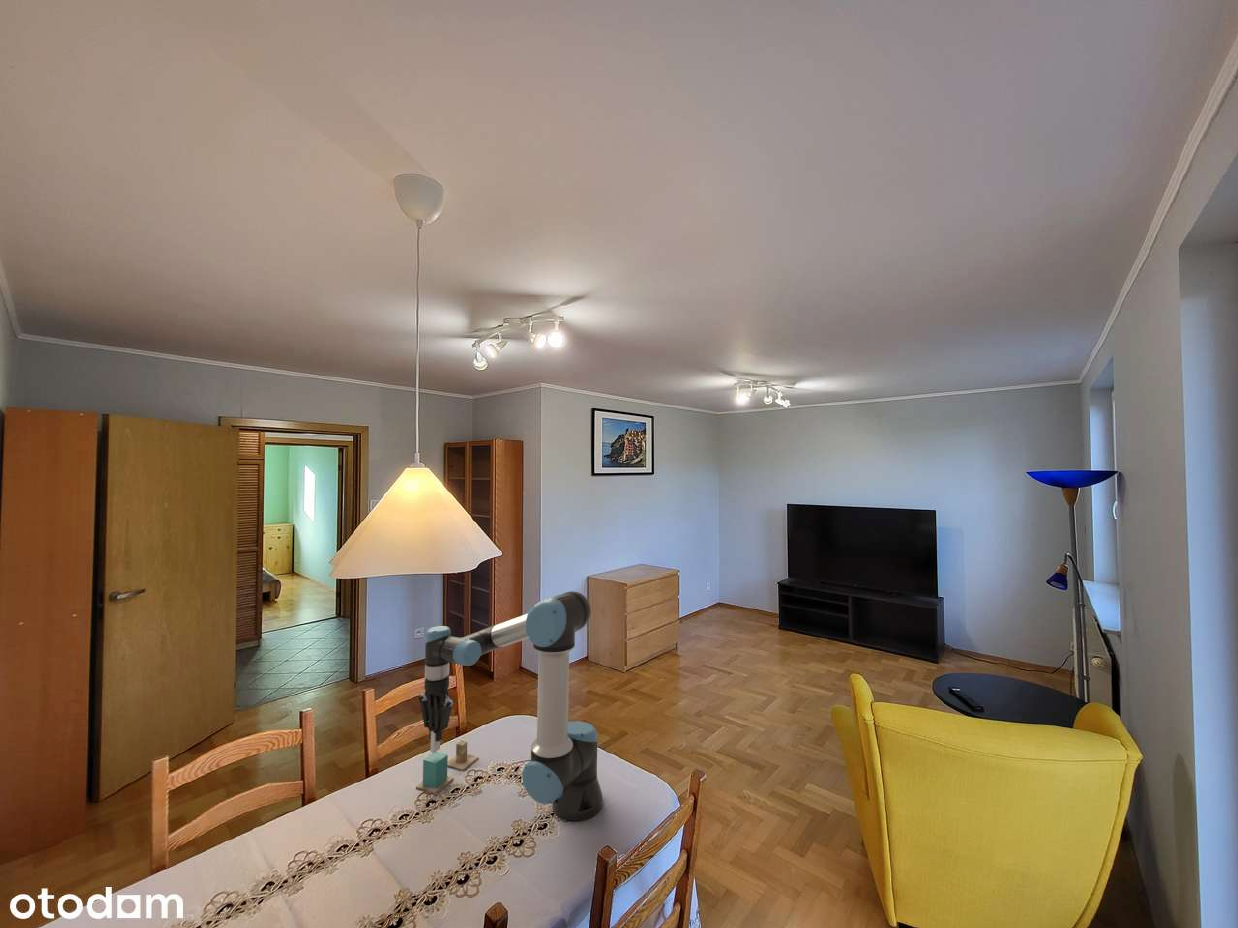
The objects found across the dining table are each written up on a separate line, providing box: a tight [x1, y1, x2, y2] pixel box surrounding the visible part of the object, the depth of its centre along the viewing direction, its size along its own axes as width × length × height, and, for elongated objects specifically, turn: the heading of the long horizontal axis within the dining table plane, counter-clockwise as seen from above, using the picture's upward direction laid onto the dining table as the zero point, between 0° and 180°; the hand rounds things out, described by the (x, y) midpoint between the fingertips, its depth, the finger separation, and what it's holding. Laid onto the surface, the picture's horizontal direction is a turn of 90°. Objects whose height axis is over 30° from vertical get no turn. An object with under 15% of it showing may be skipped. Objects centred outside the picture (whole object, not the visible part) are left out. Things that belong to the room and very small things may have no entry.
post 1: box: [415, 775, 454, 795], centre depth 154 cm, size 8×8×7 cm
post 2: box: [447, 739, 479, 772], centre depth 166 cm, size 8×8×7 cm
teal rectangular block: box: [422, 751, 449, 789], centre depth 154 cm, size 5×5×8 cm
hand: (435, 750), depth 155 cm, fingers closed
